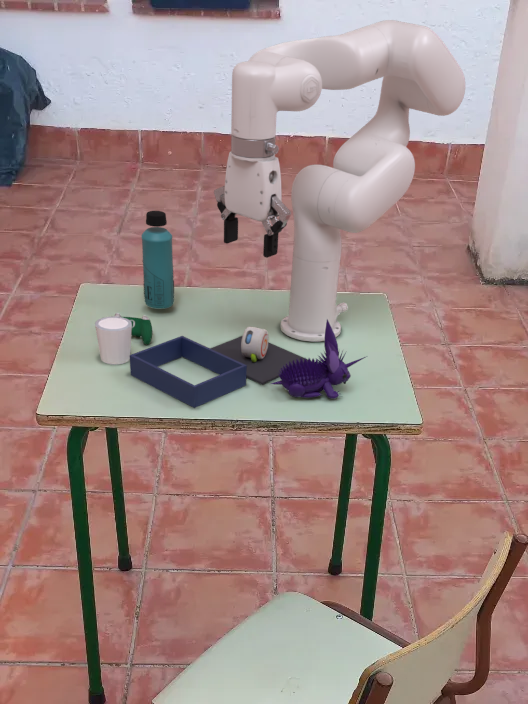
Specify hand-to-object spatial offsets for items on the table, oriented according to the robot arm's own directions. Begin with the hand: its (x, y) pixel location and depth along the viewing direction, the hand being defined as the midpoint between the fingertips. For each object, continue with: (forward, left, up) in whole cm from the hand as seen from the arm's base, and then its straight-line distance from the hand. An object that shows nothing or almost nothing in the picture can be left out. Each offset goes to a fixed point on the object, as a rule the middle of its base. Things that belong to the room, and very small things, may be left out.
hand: (250, 248), depth 163 cm
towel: (+1, +3, -20) cm, 21 cm away
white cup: (+21, -15, -21) cm, 33 cm away
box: (+17, +1, -20) cm, 26 cm away
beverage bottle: (-1, -27, -21) cm, 34 cm away
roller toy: (+1, +3, -20) cm, 20 cm away
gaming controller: (+13, -20, -21) cm, 31 cm away
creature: (+2, +20, -21) cm, 29 cm away
